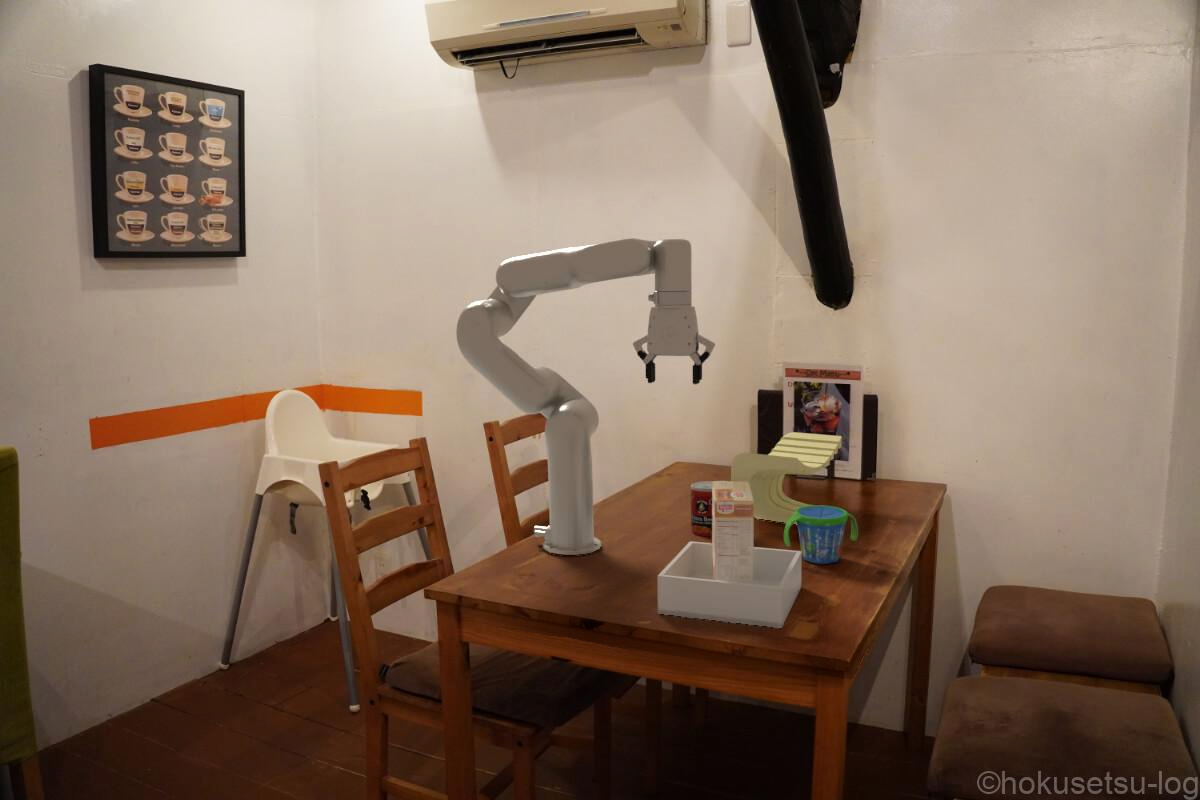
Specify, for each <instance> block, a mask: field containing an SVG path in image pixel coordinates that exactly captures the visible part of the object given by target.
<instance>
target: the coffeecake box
mask: <svg viewBox="0 0 1200 800" xmlns="http://www.w3.org/2000/svg"><path fill="white" fill-rule="evenodd" d="M754 518H755V517H754V501H753V497H752V493H751V489H750V485H749V482H739V481H736V482H734V481H731V480H713V482H712V536H711V541H712V542H711V543H712V573H713V580H719V581H729V582H738V583H748V584H753V568H754V547H755V546H754V545H755V544H754V543H755V542H754V540H755V539H754V536H755V533H754V526H755V525H754V524H755V523H754Z"/></svg>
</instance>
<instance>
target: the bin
mask: <svg viewBox="0 0 1200 800" xmlns="http://www.w3.org/2000/svg"><path fill="white" fill-rule="evenodd" d="M802 557H803V556H802V551H801V550H791V549H779V548H778V549H777V548H767V547H756V546H754V568H753V584H748V583H738V582H729V581H719V580H713V573H712V542H702V541H701V542H699V541H692V540H691V541H688V543H687V544H686V545H685V546H684V547H683V548H682V549H681V550H680V551H679V552H678V554H676V555H675V556H674V558H673V559H672V560H671V561H670V562H669V563H668V564H667V565H666V566H665V567H664V568H663V570H662V571H660V573H659V574H658V575H657V615H660V614H664V615H663V616H668V615H674V616H673V617H677V616H681V617H680V618H685V617H687V618H688V619H694V618H697V619H696V620H702V619H706V620H705V621H711V620H716V621H715V622H719V621H722V623H728V622H730V624H736V623H741V624H740V625H745V624H748V625H747V626H753V625H758V626H757V627H762V626H767V627H766V628H770V627H773V628H772V629H779V628H782V629H783V626H784V624H785V623H786V620H787V618H788V616H789V613H790V611H791V609H792V608H793V605H794V604H795V601H796V599H797V597H798V596H799V593H800V591H801V589H802V561H803V560H802V559H803V558H802ZM698 618H699V619H698ZM707 619H708V620H707ZM784 622H785V623H784Z"/></svg>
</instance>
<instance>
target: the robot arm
mask: <svg viewBox="0 0 1200 800" xmlns="http://www.w3.org/2000/svg"><path fill="white" fill-rule="evenodd" d="M651 274H652V275H653V274H654V291H653V293H652V294H648V297H647V299H648V301H649V302H652V303H653V304H654V306H651V307H650V311H649V314H648V315H649V317H648V322H647V323H648V326H647V335H645V336H643V337H641V338H639V339H637V340H635V341H633V343H632V346H633V348H634V349H635V352H636V354H637V356H638V357H639V358H640V360H642V362H643V364H645V378H646V379H647V383H648V384H652V383H655V382H656V363H655V362H654V360H655V359H656V358H657V356H658V357H659V356H663V357H665V356H666V357H667V356H668V357H670V356H671V357H689V358H690V359H691V360H692V361H693V362H694V364H693V365H692V384H693V385H698V384H700V381H701V380H702V379H703V364H704V363H705V362H706V360H708V359H709V357H711V354H712V353H713V351H714V350H715V349H714V348H715V346H716V343H715V342H713V341H712V340H710V339H708V338H706V337H704V336H702V335H700V334H699V327H698V326H699V325H698V317H697V311H696V307H695V306H693V304H692V303H693V300H692V244H691V242H690V241H689V240H687V239H683V238H673V239H672V238H671V239H668V238H667V239H659V240H658V241H657V240H656V241H655V240H647V239H639V238H631V237H630V238H625V239H619V240H613V241H608V242H602V243H595V244H590V245H584V246H578V247H577V246H575V247H574V246H573V247H565V248H560V249H555V250H551V251H550V250H548V251H544V252H538V253H532V254H526V255H520V256H515V257H511V258H508V259H506V260H504V261H502V262H501V263H500V264H499V265H498V267H497V270H496V274H495V281H496V285H497V286H496V287H495V288H494V289H493V291H492V292H491V294H490V295H489V296H488V297H487V299H483V300H478V301H474V302H472V303H470V304H469V305H467V306H466V307H465V308H464V309H462V312H461V313H460V315H459V317H458V320H457V324H456V333H455V334H456V342H457V346H458V349H459V351H460V353H461V355H462V356H463V358H464V359H465V360H466V361H467V363H468V364H469V365H470V366H471V367H472V368H473V369H474V370H475V371H476V372H477V373H478V374H479V375H481V376H482V377H483V378H484V379H485V380H486V381H488V382H489V383H490V384H491V385H492V386H493V387H494V388H495V390H497V391H499V393H501V394H502V395H503V396H504V397H505V398H506V399H507V400H508V401H510V402H511V404H513V405H514V406H515V407H516V408H517V409H518V410H519V411H521V412H522V413H524V414H528V415H537V414H541V415H542V416H543V417H545V419H546V422H545V425H544V439H545V440H544V441H545V448H546V455H547V472H548V473H547V475H548V476H547V479H548V505H549V506H548V507H549V509H548V510H549V512H548V513H549V514H548V515H549V516H548V517H549V525H548V526H542V525H535V526H534V527H533V534H534V537H535V538H544V539H545V541H544V542H543V543H542V548H544V549H545V550H547V551H549V552H553V553H557V554H585V553H590V552H593V553H595V552H594V551H596V550H598V549H599V550H600V549H601V548H602V541H601V540H600V539H599V538H597V537H595V532H594V531H595V530H594V485H593V484H594V481H593V456H592V448H591V437H592V436H593V434H594V433H595V432H596V430H597V429H598V426H599V420H600V419H599V413H598V411H597V409H596V406H594V404H593V403H592V402H591V401H590V399H588V398H587V397H585V396H584V394H582V393H581V392H580V391H579V390H578V389H576V388H575V386H573V385H571V383H569V382H568V381H567V380H566V379H565V378H564V377H563V376H561V375H560V374H559V373H557V371H554V370H553V369H550V368H548V367H546V366H545V367H544V366H535V367H533V366H532V365H531V364H529V363H528V362H527V361H526V360H524V359H523V358H522V357H521V356H520V355H519V354H518V353H516V351H514V350H513V349H512V348H510V347H509V346H507V345H506V344H504V343H503V342H502V341H501V339H500V338H501V337H504V336H505V335H507V334H508V333H509V332H510V331H511V330H512V328H513V327H514V326H515V325H516V324H517V323H518V322H519V320H520V318H521V317H522V316H523V315H524V313H525V312H526V310H528V308H529V306H531V304H532V303H533V301H534V300H535V299H536V296H537V295H543V294H549V293H556V292H561V291H568V290H575V289H578V288H581V287H583V286H586V285H589V284H594V283H599V282H607V281H611V280H612V281H613V280H617V279H618V280H619V279H625V278H629V277H639V276H646V275H651ZM645 344H646V349H647V352H646V351H645V350H644V348H643V345H645ZM700 344H702V345H703V346H704V347H705V350H704V351H703V352H702V354H700V352H699V349H700V348H699V347H700ZM600 547H601V548H600ZM544 549H543V550H544ZM545 550H544V551H545ZM599 550H598V551H599ZM596 552H597V551H596ZM590 554H591V553H590ZM585 555H586V554H585Z"/></svg>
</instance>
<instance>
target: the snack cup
mask: <svg viewBox="0 0 1200 800" xmlns="http://www.w3.org/2000/svg"><path fill="white" fill-rule="evenodd" d="M812 505H813V506H805V507H801V508H798V509H797V510H796V511H795V514H794V515H793V516H792V517H790V518H789V520H788V521H787V523H785V526H784V530H783V542H784V544H785V546H786V547H787V548H790V547H791V542H790V541H791V540H790V529H791V527H792V526H793V523H794V522H795V521H796V522H797V525H796V526H797V529H798V535H799V537H798V538H799V543H800V551H802V557H803V558H802V559H803V560H804V561H807V562H809V563H813V564H819V565H825V564H832V563H837V562H838V560H839V559H840V557H841V553H842V548H843V539H844V533H845V527H846V523H847V521H848V518H849V519H850V540H852V541H853V542H856V541H857V540H858V536H859V526H858V522H857V519H856V518H855V516H853V515H852V514H851V513H849V512H848V511H847V510H845V509H843V508H841V507H838V506H833V505H825V504H824V505H823V504H822V505H820V504H819V505H814V504H812Z"/></svg>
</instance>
